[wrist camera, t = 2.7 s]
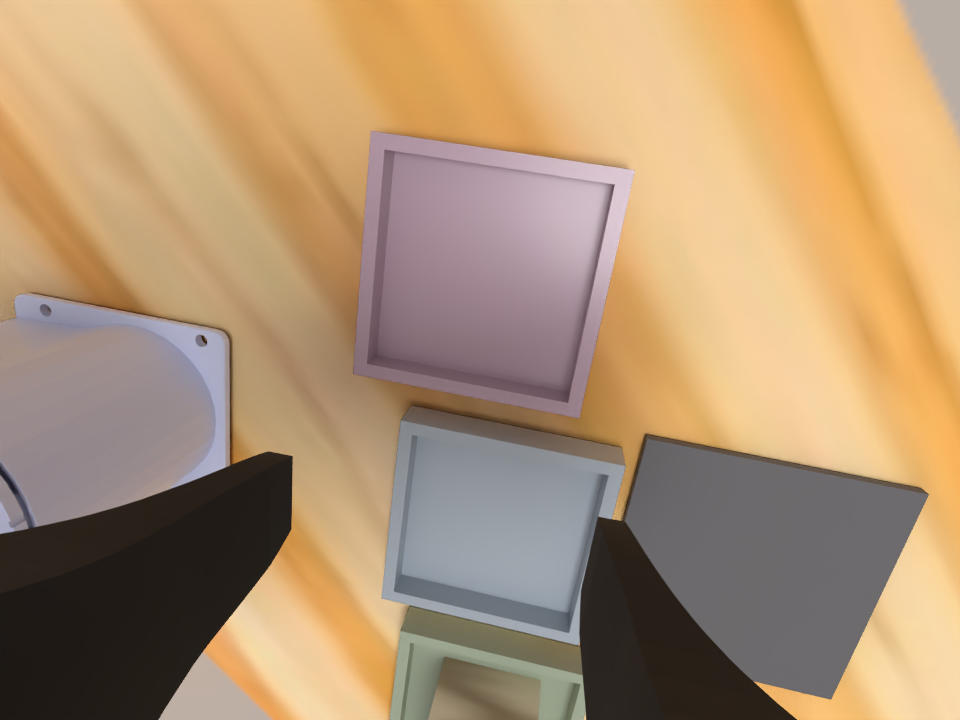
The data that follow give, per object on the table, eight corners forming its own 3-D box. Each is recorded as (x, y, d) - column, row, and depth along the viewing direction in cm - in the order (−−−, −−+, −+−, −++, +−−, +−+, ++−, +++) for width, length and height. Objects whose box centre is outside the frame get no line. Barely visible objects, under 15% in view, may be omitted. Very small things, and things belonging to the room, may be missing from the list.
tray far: (393, 737, 28) (383, 766, 27) (409, 606, 25) (400, 630, 24) (557, 780, 27) (556, 813, 26) (593, 649, 25) (595, 678, 23)
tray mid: (392, 575, 25) (381, 598, 24) (411, 405, 22) (400, 420, 21) (578, 618, 24) (578, 645, 23) (622, 447, 21) (625, 466, 20)
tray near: (366, 361, 22) (353, 373, 21) (385, 134, 19) (370, 130, 18) (578, 402, 21) (579, 418, 20) (629, 171, 18) (635, 170, 17)
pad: (591, 635, 24) (592, 642, 24) (646, 434, 21) (647, 438, 21) (826, 691, 23) (831, 699, 23) (922, 488, 20) (928, 494, 20)
